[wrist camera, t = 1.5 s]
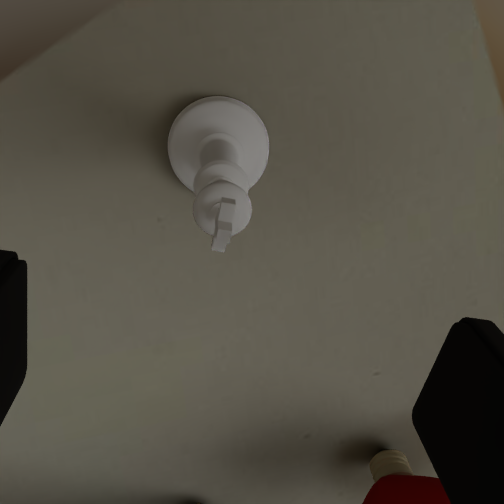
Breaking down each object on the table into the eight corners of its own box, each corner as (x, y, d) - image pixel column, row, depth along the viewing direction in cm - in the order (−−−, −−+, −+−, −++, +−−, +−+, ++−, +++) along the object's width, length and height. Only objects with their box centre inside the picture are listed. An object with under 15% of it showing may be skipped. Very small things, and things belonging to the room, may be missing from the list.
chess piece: (280, 108, 23) (324, 175, 14) (256, 203, 25) (281, 314, 16) (176, 85, 22) (152, 140, 13) (161, 185, 24) (132, 292, 15)
